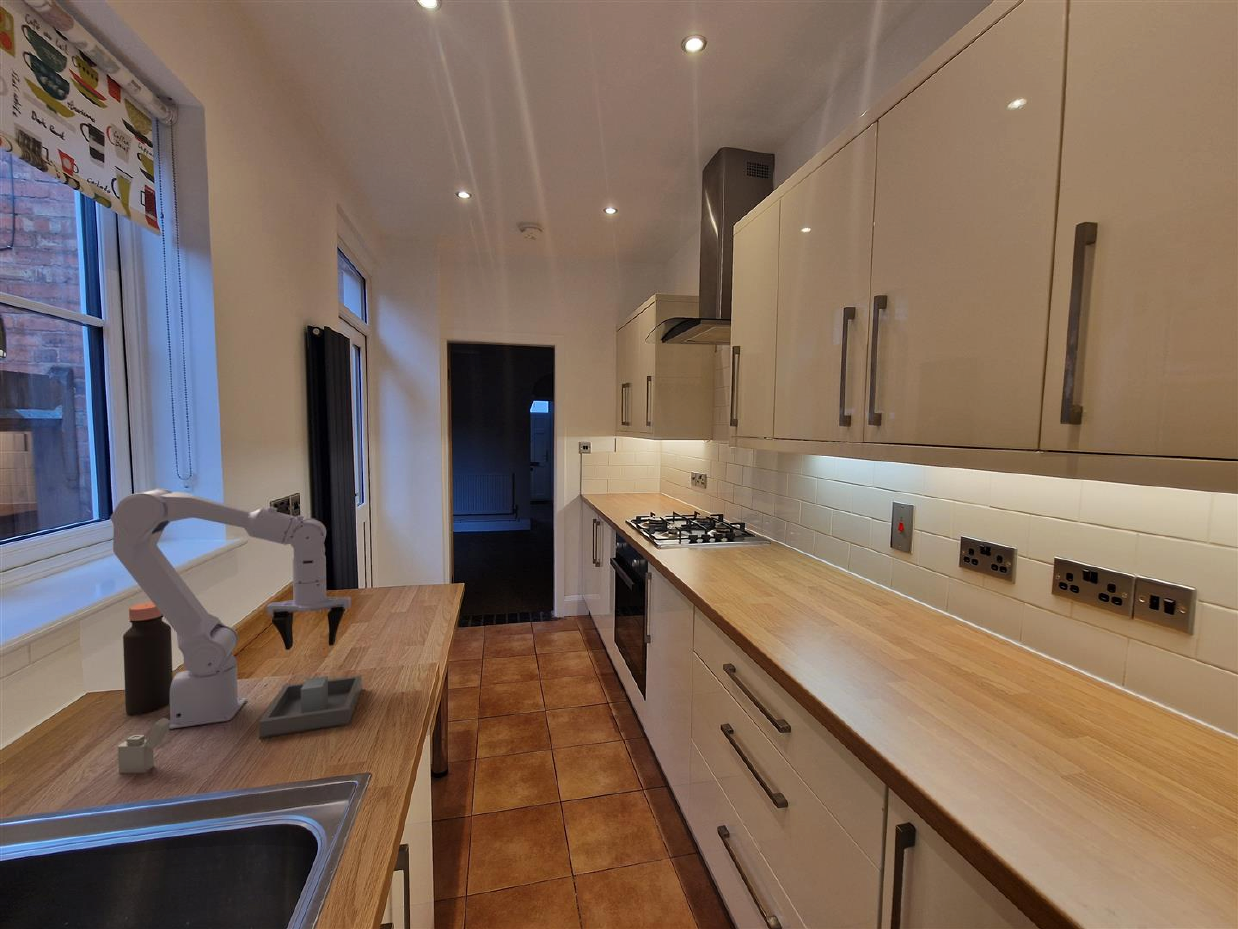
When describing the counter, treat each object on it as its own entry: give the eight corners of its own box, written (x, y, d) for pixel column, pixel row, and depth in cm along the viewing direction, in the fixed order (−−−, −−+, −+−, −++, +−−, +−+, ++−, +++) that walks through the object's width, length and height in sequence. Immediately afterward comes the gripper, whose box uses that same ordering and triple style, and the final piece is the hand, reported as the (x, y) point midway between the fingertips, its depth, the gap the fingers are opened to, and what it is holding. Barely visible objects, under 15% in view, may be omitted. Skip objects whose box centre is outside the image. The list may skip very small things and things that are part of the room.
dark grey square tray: (259, 738, 87) (258, 722, 87) (284, 699, 101) (284, 685, 100) (349, 725, 92) (348, 709, 92) (361, 689, 105) (361, 675, 105)
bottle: (155, 695, 102) (152, 598, 101) (182, 699, 100) (179, 601, 99) (116, 713, 95) (112, 609, 94) (144, 717, 94) (140, 612, 93)
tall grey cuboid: (301, 718, 93) (300, 689, 93) (307, 706, 97) (307, 678, 97) (322, 715, 94) (321, 686, 94) (328, 703, 98) (327, 676, 98)
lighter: (117, 773, 78) (115, 723, 78) (128, 766, 80) (126, 717, 79) (164, 772, 78) (162, 723, 78) (173, 765, 80) (172, 716, 80)
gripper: (260, 588, 95) (261, 658, 96) (345, 582, 100) (346, 649, 100) (273, 578, 102) (274, 644, 102) (352, 573, 106) (353, 636, 107)
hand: (310, 645), depth 102 cm, fingers open, 7 cm apart
